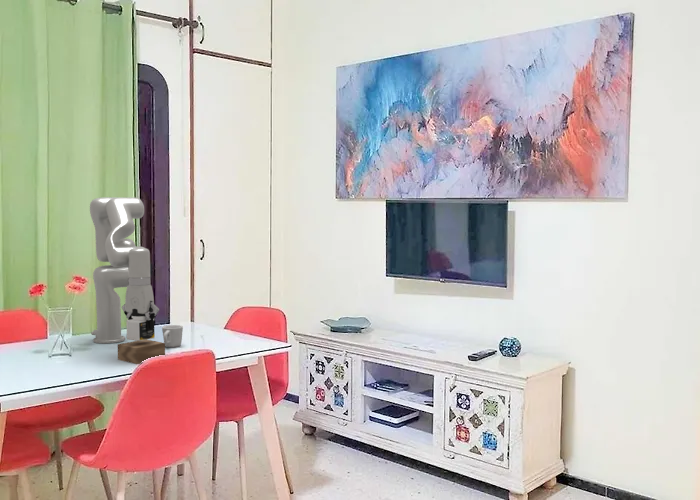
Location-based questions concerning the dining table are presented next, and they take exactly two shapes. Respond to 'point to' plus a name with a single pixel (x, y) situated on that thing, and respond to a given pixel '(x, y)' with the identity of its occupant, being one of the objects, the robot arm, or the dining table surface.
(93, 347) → the dining table surface
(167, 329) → the cup
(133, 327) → the medicine bottle
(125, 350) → the walnut block
